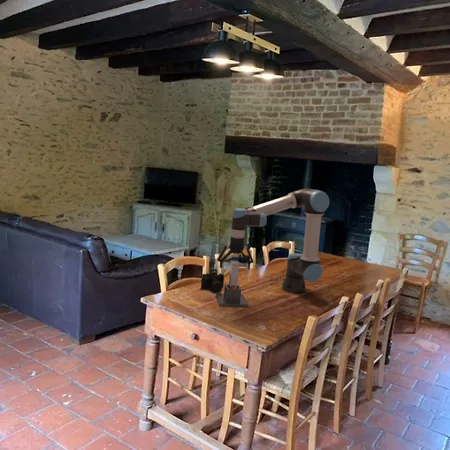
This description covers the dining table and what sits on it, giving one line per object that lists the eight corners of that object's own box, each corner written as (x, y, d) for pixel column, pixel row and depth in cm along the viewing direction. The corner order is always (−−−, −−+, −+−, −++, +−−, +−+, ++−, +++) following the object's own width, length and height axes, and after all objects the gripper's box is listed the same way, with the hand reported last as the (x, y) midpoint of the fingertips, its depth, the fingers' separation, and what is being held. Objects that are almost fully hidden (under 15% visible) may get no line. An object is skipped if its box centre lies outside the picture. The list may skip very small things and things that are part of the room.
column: (234, 296, 238) (237, 261, 234) (236, 300, 232) (239, 264, 228) (227, 296, 237) (230, 260, 234) (229, 300, 231) (232, 263, 228)
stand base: (242, 296, 244) (244, 281, 242) (248, 307, 228) (250, 290, 227) (215, 295, 241) (217, 280, 240) (219, 306, 226) (220, 289, 224)
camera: (203, 293, 244) (205, 276, 243) (199, 287, 255) (201, 271, 253) (226, 292, 248) (228, 276, 247) (221, 287, 259) (223, 271, 257)
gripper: (258, 236, 234) (254, 273, 238) (214, 234, 230) (211, 271, 234) (261, 239, 227) (257, 277, 230) (215, 237, 223) (212, 275, 226)
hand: (234, 274), depth 232 cm, fingers open, 13 cm apart
